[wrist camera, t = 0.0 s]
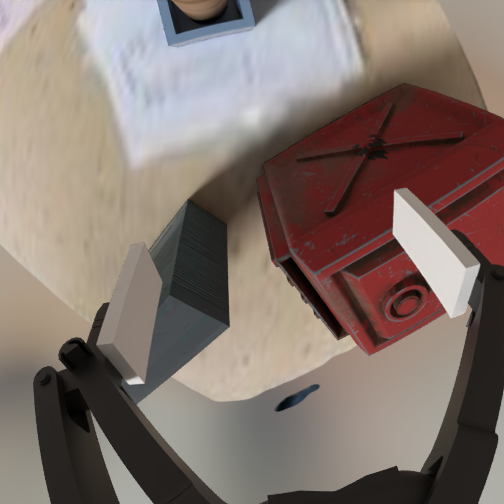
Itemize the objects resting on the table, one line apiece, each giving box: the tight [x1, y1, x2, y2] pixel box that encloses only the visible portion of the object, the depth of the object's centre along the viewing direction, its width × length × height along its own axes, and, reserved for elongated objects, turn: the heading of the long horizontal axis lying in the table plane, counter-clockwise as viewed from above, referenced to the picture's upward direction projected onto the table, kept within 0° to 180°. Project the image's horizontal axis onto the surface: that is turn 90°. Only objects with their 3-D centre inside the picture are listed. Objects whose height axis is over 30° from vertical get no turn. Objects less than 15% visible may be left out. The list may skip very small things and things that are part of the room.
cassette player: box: [121, 199, 230, 404], centre depth 44 cm, size 29×7×20 cm, turn 139°
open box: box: [157, 0, 255, 47], centre depth 27 cm, size 9×9×7 cm
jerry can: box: [256, 83, 504, 356], centre depth 33 cm, size 30×16×25 cm, turn 123°
